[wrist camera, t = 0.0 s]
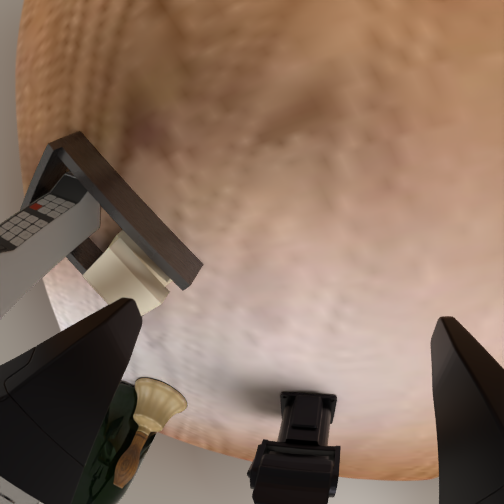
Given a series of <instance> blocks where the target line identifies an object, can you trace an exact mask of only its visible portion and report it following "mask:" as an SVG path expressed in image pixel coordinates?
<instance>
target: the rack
mask: <svg viewBox="0 0 504 504" xmlns="http://www.w3.org/2000/svg"><path fill="white" fill-rule="evenodd" d="M67 167H68V169H69V170H70V171H71V172H72V173H73V174H74V176H75V177H76V178H77V179H78V180H79V181H80V183H81V184H82V185H83V186H84V187H85V188H86V189H87V191H88V192H89V193H90V194H91V195H92V196H93V197H94V199H95V200H96V201H97V202H98V203H99V204H100V205H101V206H102V208H103V209H104V210H105V211H106V212H107V213H108V214H109V215H110V216H111V217H112V218H113V220H114V221H115V222H116V223H117V224H118V225H119V226H120V227H121V228H122V229H123V230H124V231H125V232H126V234H127V235H128V236H129V237H130V238H131V239H132V240H133V241H134V242H135V243H136V244H137V245H138V246H139V247H140V248H141V249H142V250H143V251H144V252H145V253H146V254H147V255H148V257H149V258H150V259H151V260H152V261H153V262H154V263H155V264H156V265H157V266H158V267H159V268H160V269H161V270H162V271H163V272H164V273H165V274H166V275H167V276H168V277H169V278H170V279H171V280H172V281H173V282H174V283H175V284H176V285H177V286H178V287H179V288H180V289H182V290H185V289H186V288H187V287H189V286H190V285H191V284H192V282H193V280H194V279H195V277H196V276H197V274H198V272H199V271H200V269H201V268H202V266H203V264H202V263H201V262H200V261H199V260H198V259H197V257H196V256H195V255H194V254H193V253H192V252H191V251H190V250H189V249H188V248H187V247H186V246H185V245H184V244H183V243H182V242H181V241H180V240H179V239H178V238H177V237H176V236H175V235H174V234H173V233H172V232H171V231H170V229H169V228H168V227H167V226H166V225H165V224H164V223H163V222H162V221H161V220H160V219H159V218H158V217H157V216H156V215H155V214H154V213H153V212H152V210H151V209H150V208H149V207H148V206H147V205H146V204H145V203H144V202H143V201H142V200H141V199H140V198H139V196H138V195H137V194H136V193H135V192H134V191H133V190H132V189H131V188H130V187H129V186H128V184H127V183H126V182H125V181H124V180H123V179H122V178H121V177H120V176H119V175H118V173H117V172H116V171H115V170H114V169H113V168H112V167H111V166H110V165H109V163H108V162H107V161H106V160H105V159H104V158H103V157H102V156H101V154H100V153H99V152H98V151H97V150H96V149H95V148H94V147H93V145H92V144H91V143H90V142H89V141H88V140H87V139H86V137H85V136H84V135H83V134H82V133H81V132H80V131H79V132H76V133H74V134H71V135H68V136H66V137H63V138H61V139H58V140H56V141H53V142H51V143H48V145H47V147H46V149H45V151H44V153H43V155H42V157H41V160H40V162H39V164H38V166H37V169H36V171H35V173H34V176H33V178H32V180H31V183H30V185H29V188H28V190H27V193H26V196H25V198H24V201H23V204H22V206H21V209H20V210H22V209H23V208H25V207H26V206H28V205H29V204H31V203H33V202H34V201H36V200H37V199H39V198H41V197H42V196H44V195H45V194H47V193H49V192H50V191H51V190H52V189H53V187H54V186H55V185H56V184H57V182H58V181H59V180H60V178H61V177H62V176H63V175H64V173H65V171H66V169H67ZM102 254H103V253H102V252H101V251H100V250H99V249H98V247H97V246H96V245H95V244H94V243H93V242H92V241H91V240H90V239H89V238H87V239H85V240H84V241H83V242H82V243H81V244H80V245H78V246H77V247H76V248H75V249H74V250H73V251H71V252H70V253H69V254H68V255H67V256H66V257H67V258H68V260H69V261H70V262H71V263H72V264H73V265H74V266H75V267H76V268H77V269H78V270H79V272H80V273H81V274H82V275H83V274H84V273H85V272H86V271H87V270H88V269H89V268H90V267H91V266H92V265H93V264H94V263H95V262H96V261H97V259H98V258H99V257H100V256H101V255H102Z"/></svg>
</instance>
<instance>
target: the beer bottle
mask: <svg viewBox="0 0 504 504" xmlns="http://www.w3.org/2000/svg"><path fill="white" fill-rule="evenodd" d="M137 400H138V397H137V392H136V390H135V387H132V386H130V385H127V384H123V383H119V386H118V388H117V390H116V392H115V395H114V397H113V399H112V401H111V404H110V406H109V408H108V411H107V413H106V415H105V418H104V420H103V422H102V425H101V427H100V430H99V432H98V434H97V437H96V439H95V442H94V444H93V447H92V449H91V452H90V454H89V457H88V459H87V462H86V464H85V466H84V470H83V473H82V475H81V478H80V481H79V483H78V486H77V489H76V492H75V494H74V497H73V500H72V503H71V504H117V503H118V502H119V501H120V500H121V499H122V497H123V496H124V495H125V493H126V492H127V490H128V488H129V486H130V485H131V483H132V481H133V479H134V477H135V475H136V473H137V471H138V469H139V467H140V465H141V463H142V461H143V459H144V457H145V455H146V453H147V451H148V449H149V447H150V445H151V443H152V441H153V439H154V437H155V435H156V433H157V432H150V434H149V436H148V438H147V440H146V442H145V444H144V446H143V447H142V449H141V452H140V457H139V464H138V467H137V470H136V472H135V474H134V476H133V477H132V478H131V480H130V481H129V482H127V483H126V484H125V485H124V487H123V488H120V487H118V486H116V485H114V484H113V483H114V476H115V468H116V465H117V463H118V461H119V459H120V458H121V456H122V455H123V454H124V452H125V451H127V449H128V448H129V447H130V445H131V444H132V441H133V439H134V437H135V435H136V432H137V430H138V428H139V425H138V424H137V423H136V421H135V420H134V418H133V415H134V413H135V410H136V406H137Z"/></svg>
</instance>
